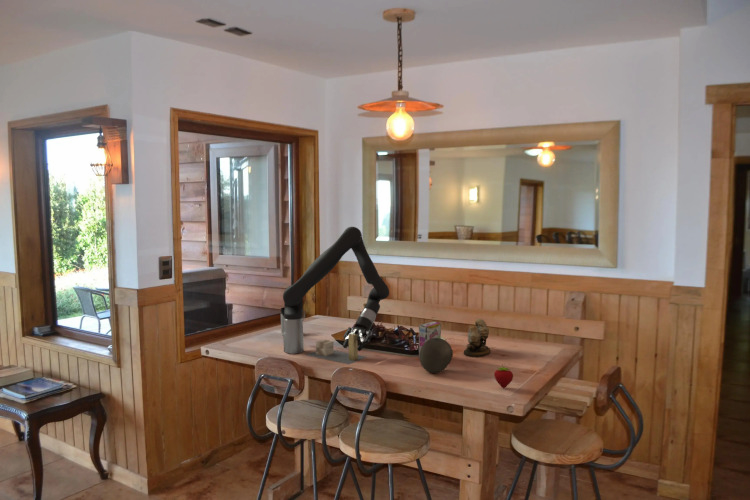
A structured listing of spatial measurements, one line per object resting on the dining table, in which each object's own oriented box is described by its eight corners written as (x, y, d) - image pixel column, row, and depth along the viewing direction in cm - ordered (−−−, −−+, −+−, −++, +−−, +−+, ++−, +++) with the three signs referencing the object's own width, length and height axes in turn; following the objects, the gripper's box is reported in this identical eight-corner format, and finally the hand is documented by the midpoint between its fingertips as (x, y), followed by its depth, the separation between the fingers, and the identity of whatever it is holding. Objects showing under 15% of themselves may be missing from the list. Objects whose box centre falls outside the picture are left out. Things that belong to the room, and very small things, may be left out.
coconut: (429, 379, 238) (429, 344, 237) (414, 369, 251) (414, 336, 250) (458, 374, 244) (458, 340, 243) (441, 365, 257) (441, 333, 256)
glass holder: (279, 333, 323) (278, 307, 322) (304, 331, 328) (303, 305, 326) (281, 336, 315) (280, 310, 314) (306, 334, 319) (306, 308, 318)
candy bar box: (426, 360, 265) (426, 326, 263) (418, 358, 268) (418, 324, 267) (441, 355, 273) (441, 322, 271) (433, 353, 276) (433, 320, 275)
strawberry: (511, 391, 221) (511, 367, 220) (492, 389, 225) (492, 364, 224) (514, 387, 227) (514, 362, 226) (496, 384, 230) (496, 360, 229)
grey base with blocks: (304, 355, 276) (303, 330, 275) (323, 349, 287) (323, 325, 286) (348, 365, 259) (348, 338, 258) (367, 358, 270) (367, 332, 269)
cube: (316, 354, 277) (315, 342, 276) (324, 351, 282) (324, 339, 281) (325, 356, 273) (325, 343, 273) (333, 353, 278) (333, 341, 277)
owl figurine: (472, 346, 288) (472, 314, 286) (494, 349, 282) (495, 316, 281) (459, 355, 273) (459, 320, 271) (482, 358, 267) (483, 323, 265)
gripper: (350, 314, 275) (336, 342, 267) (374, 317, 266) (359, 346, 258) (357, 322, 280) (343, 350, 272) (381, 326, 271) (366, 355, 263)
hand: (351, 348), depth 265 cm, fingers open, 8 cm apart
